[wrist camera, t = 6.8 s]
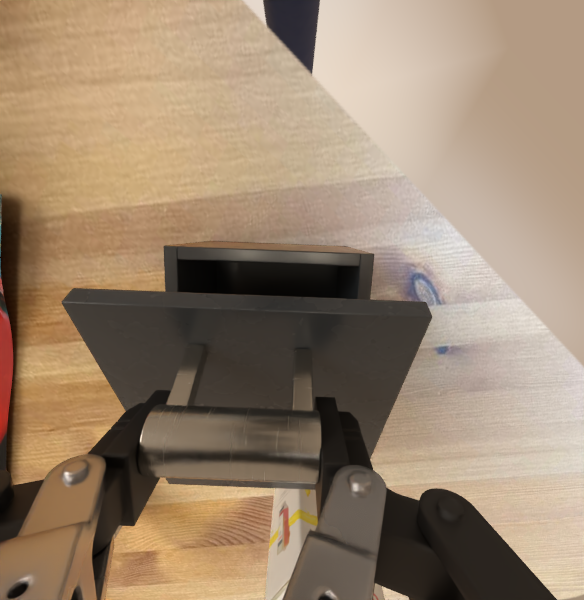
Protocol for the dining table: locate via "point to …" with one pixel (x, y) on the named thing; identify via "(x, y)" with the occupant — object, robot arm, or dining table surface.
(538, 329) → the dining table surface
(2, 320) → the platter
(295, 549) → the ink box
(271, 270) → the bin
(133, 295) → the bin lid
